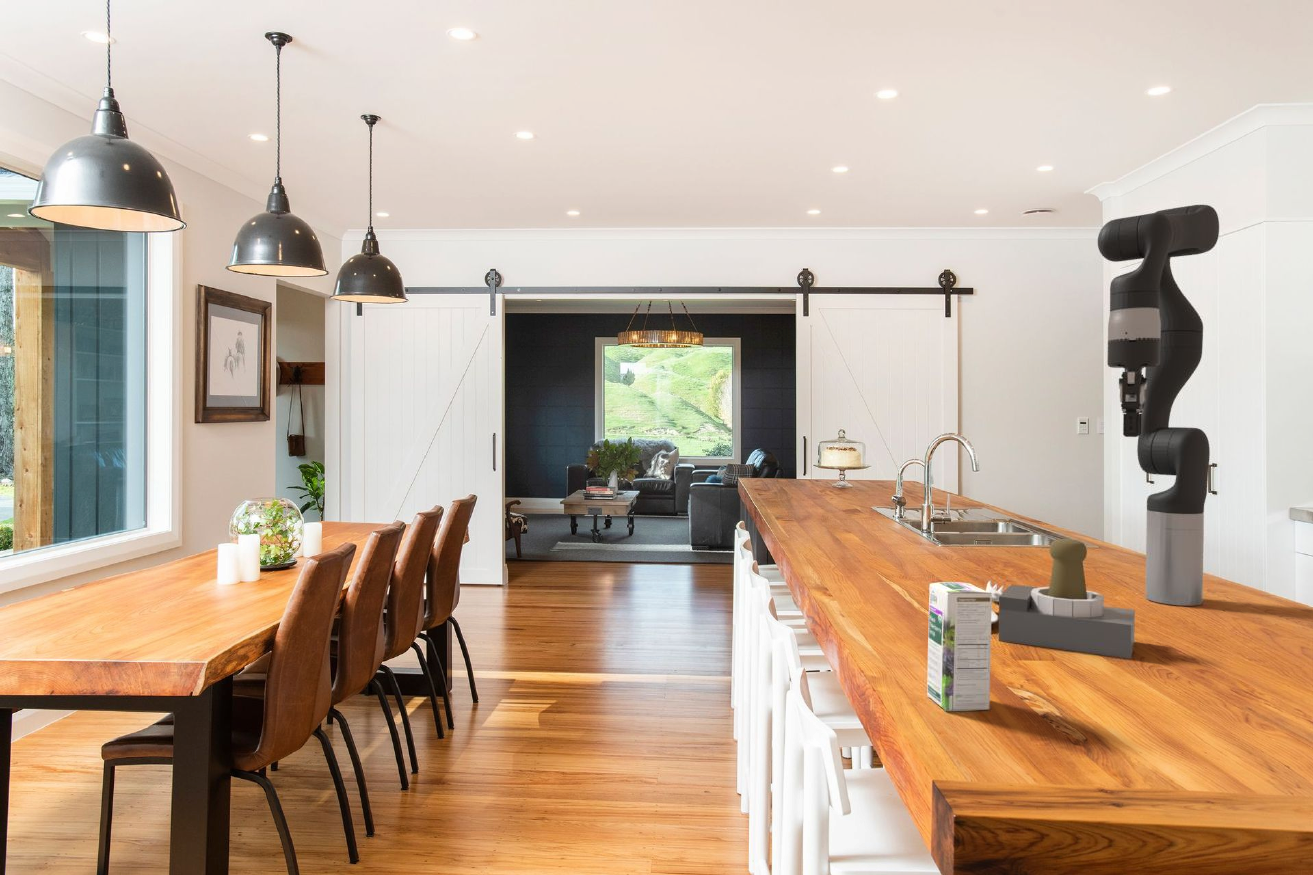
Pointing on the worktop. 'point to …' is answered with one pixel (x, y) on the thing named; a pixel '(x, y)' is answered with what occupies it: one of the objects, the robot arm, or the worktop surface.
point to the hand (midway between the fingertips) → (1132, 436)
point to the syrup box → (959, 646)
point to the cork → (1068, 569)
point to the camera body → (1065, 622)
